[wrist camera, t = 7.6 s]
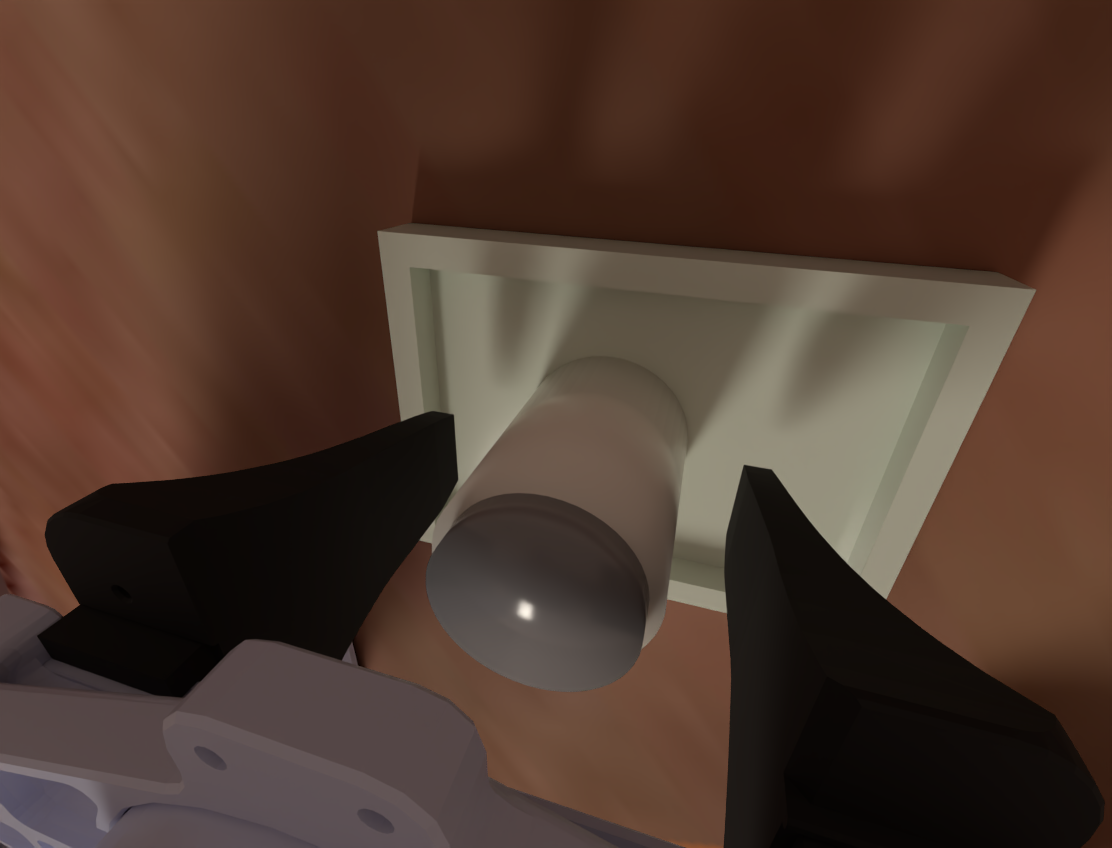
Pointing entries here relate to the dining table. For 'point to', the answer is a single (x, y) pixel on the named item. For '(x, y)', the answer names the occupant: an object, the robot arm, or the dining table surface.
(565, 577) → the shaker
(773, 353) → the tray
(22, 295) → the dining table surface
